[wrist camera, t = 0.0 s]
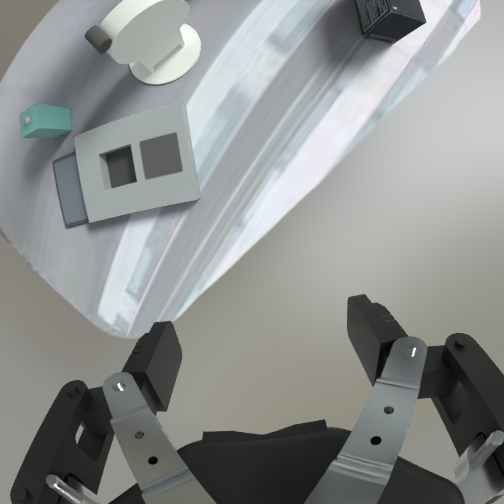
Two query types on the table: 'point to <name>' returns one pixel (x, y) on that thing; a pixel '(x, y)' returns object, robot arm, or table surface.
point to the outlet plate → (137, 163)
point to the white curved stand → (149, 39)
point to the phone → (70, 190)
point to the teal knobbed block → (45, 121)
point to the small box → (389, 18)
